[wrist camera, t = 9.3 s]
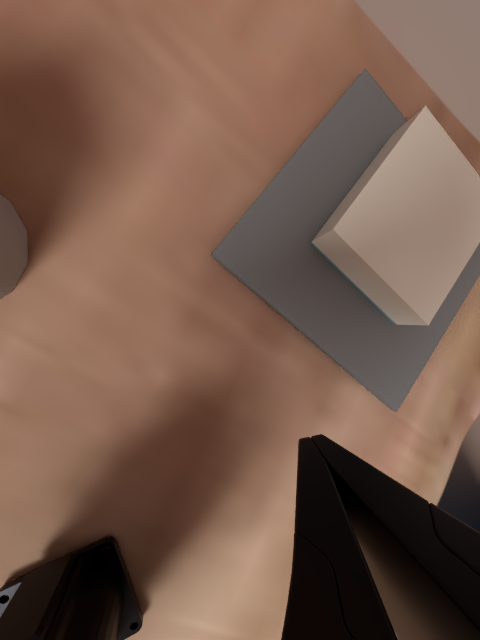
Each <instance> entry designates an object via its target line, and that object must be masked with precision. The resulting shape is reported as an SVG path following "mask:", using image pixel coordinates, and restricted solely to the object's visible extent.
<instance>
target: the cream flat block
mask: <svg viewBox="0 0 480 640" xmlns="http://www.w3.org/2000/svg"><path fill="white" fill-rule="evenodd" d="M479 243H480V176H479V174H478V173H477V172H476V171H475V169H474V168H473V167H472V165H471V164H470V163H469V161H468V160H467V159H466V158H465V156H464V155H463V154H462V152H461V151H460V150H459V149H458V147H457V146H456V145H455V143H454V142H453V141H452V139H451V138H450V137H449V136H448V134H447V133H446V132H445V130H444V129H443V128H442V126H441V125H440V124H439V123H438V121H437V120H436V119H435V117H434V116H433V115H432V113H431V112H430V111H429V110H428V108H427V107H426V106H424V107H423V108H422V109H421V110H420V111H418V112H417V113H416V114H415V115H414V116H413V117H412V118H410V119H409V120H408V121H407V122H406V123H405V124H403V125H402V126H401V127H400V128H399V129H398V130H397V131H395V132H394V133H393V135H392V136H391V137H390V139H389V140H388V141H387V142H386V144H385V145H384V146H383V148H382V149H381V150H380V152H379V153H378V154H377V156H376V157H375V158H374V160H373V161H372V162H371V164H370V165H369V166H368V168H367V169H366V170H365V172H364V173H363V174H362V176H361V177H360V178H359V180H358V181H357V182H356V183H355V185H354V186H353V187H352V189H351V190H350V191H349V193H348V194H347V195H346V197H345V198H344V199H343V201H342V202H341V203H340V205H339V206H338V207H337V209H336V210H335V211H334V213H333V214H332V215H331V217H330V218H329V219H328V221H327V222H326V223H325V224H324V226H323V227H322V228H321V230H320V231H319V232H318V234H317V235H316V236H315V238H314V239H313V240H312V242H311V243H310V244H311V245H312V246H313V247H314V248H315V249H317V250H318V251H319V252H320V253H321V254H322V255H323V256H324V257H325V258H326V259H327V260H328V261H329V262H330V263H331V264H332V265H333V266H334V267H335V268H336V269H337V270H338V271H339V272H340V273H341V274H342V275H343V276H344V277H346V278H347V279H348V280H349V281H350V282H351V283H352V284H353V285H354V286H355V287H356V288H357V289H358V290H359V291H360V292H361V293H362V294H363V295H364V296H365V297H366V298H367V299H368V300H369V301H370V302H371V303H372V304H373V305H375V306H376V307H377V308H378V309H379V310H380V311H381V312H382V313H383V314H384V315H385V316H386V317H387V318H388V319H389V320H390V321H391V322H392V323H396V324H397V325H429V324H430V322H431V320H432V319H433V317H434V316H435V314H436V312H437V311H438V309H439V308H440V306H441V304H442V303H443V301H444V300H445V298H446V296H447V295H448V293H449V291H450V290H451V288H452V287H453V285H454V283H455V282H456V280H457V279H458V277H459V275H460V274H461V272H462V270H463V269H464V267H465V266H466V264H467V262H468V261H469V259H470V258H471V256H472V254H473V253H474V251H475V249H476V248H477V246H478V245H479Z"/></svg>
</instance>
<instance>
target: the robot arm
mask: <svg viewBox="0 0 480 640" xmlns="http://www.w3.org/2000/svg"><path fill="white" fill-rule="evenodd" d="M105 546H109V547H110V548H105ZM5 595H8V596H5ZM142 622H143V613H142V610H141V608H140V605H139V602H138V599H137V597H136V594H135V591H134V588H133V585H132V583H131V580H130V577H129V574H128V572H127V569H126V566H125V563H124V560H123V558H122V555H121V552H120V549H119V547H118V544H117V541H116V539H115V538H114V537H111V536H108V537H105V538H103V539H101V540H99V541H96V542H94V543H92V544H90V545H88V546H86V547H84V548H82V549H79V550H77V551H75V552H73V553H69V554H67V555H65V556H63V557H61V558H59V559H57V560H55V561H52V562H50V563H48V564H46V565H44V566H42V567H40V568H37V569H35V570H33V571H31V572H29V573H27V574H26V575H24V576H22V577H20V578H18V579H16V580H13V581H11V582H9V583H7V584H5V585H4V586H2V587H1V589H0V640H124V639H126V638H128V637H130V636H131V635H133V634H135V633H137V632H138V631H139V630H140V629H141V627H142ZM392 626H393V627H392ZM393 628H394V629H393ZM394 630H395V632H396V634H397V636H398V638H399V640H480V533H479V532H478V531H476V530H474V529H473V528H471V527H469V526H468V525H466V524H465V523H463V522H461V521H460V520H458V519H456V518H455V517H453V516H451V515H450V514H448V513H446V512H445V511H443V510H442V509H440V508H439V507H437V506H435V505H434V504H432V503H430V504H429V503H428V501H427V500H425V499H424V498H422V497H420V496H419V495H417V494H416V493H414V492H413V491H411V490H409V489H408V488H406V487H405V486H403V485H402V484H400V483H398V482H397V481H395V480H394V479H392V478H390V477H389V476H387V475H386V474H384V473H383V472H381V471H379V470H378V469H376V468H375V467H373V466H372V465H370V464H368V463H367V462H365V461H364V460H362V459H360V458H359V457H357V456H356V455H354V454H353V453H351V452H349V451H348V450H346V449H345V448H343V447H342V446H340V445H338V444H337V443H335V442H334V441H332V440H330V439H329V438H327V437H326V436H324V435H322V434H320V435H315V436H312V437H311V438H310V437H306V438H301V439H299V445H298V467H297V489H296V511H295V533H294V549H293V561H292V574H291V581H290V588H289V595H288V602H287V609H286V614H285V620H284V626H283V632H282V638H281V640H398V639H397V637H396V634H395V632H394Z"/></svg>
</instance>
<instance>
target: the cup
mask: <svg viewBox="0 0 480 640" xmlns="http://www.w3.org/2000/svg"><path fill="white" fill-rule="evenodd" d="M27 264H28V234H27V230H26V228H25V226H24V225H23V223H22V221H21V219H20V218H19V216H18V214H17V212H16V211H15V209H14V207H13V205H12V204H11V202H10V201H9V200H8V199H6V198H5V197H4V196H2V195H1V194H0V299H1V298H3V297H4V296H6V295H7V294H9V293H10V292H12V291H13V289H14V287H15V286H16V284H17V282H18V280H19V279H20V277H21V275H22V273H23V271H24V270H25V268H26V266H27Z"/></svg>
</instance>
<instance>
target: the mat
mask: <svg viewBox="0 0 480 640" xmlns="http://www.w3.org/2000/svg"><path fill="white" fill-rule="evenodd" d="M406 122H407V120H406V119H405V117H404V116H403V115H402V114H401V112H400V111H399V110H398V109H397V107H396V106H395V105H394V104H393V102H392V101H391V100H390V99H389V97H388V96H387V95H386V94H385V92H384V91H383V90H382V89H381V87H380V86H379V85H378V84H377V82H376V81H375V80H374V79H373V77H372V76H371V75H370V74H369V72H368V71H367V70H366V69H364V71H363V72H362V73H361V74H360V75H359V77H358V78H357V79H356V80H355V81H354V83H353V84H352V85H351V86H350V87H349V89H348V90H347V91H346V92H345V94H344V95H343V96H342V97H341V98H340V100H339V101H338V102H337V103H336V104H335V106H334V107H333V108H332V109H331V110H330V112H329V113H328V114H327V115H326V116H325V118H324V119H323V120H322V121H321V122H320V124H319V125H318V126H317V127H316V129H315V130H314V131H313V132H312V133H311V135H310V136H309V137H308V138H307V139H306V141H305V142H304V143H303V144H302V145H301V147H300V148H299V149H298V150H297V151H296V153H295V154H294V155H293V156H292V157H291V159H290V160H289V161H288V162H287V164H286V165H285V166H284V167H283V168H282V170H281V171H280V172H279V173H278V174H277V176H276V177H275V178H274V179H273V180H272V182H271V183H270V184H269V185H268V186H267V188H266V189H265V190H264V191H263V192H262V194H261V195H260V196H259V197H258V199H257V200H256V201H255V202H254V203H253V205H252V206H251V207H250V208H249V209H248V211H247V212H246V213H245V214H244V215H243V217H242V218H241V219H240V220H239V221H238V223H237V224H236V225H235V226H234V227H233V229H232V230H231V231H230V232H229V234H228V235H227V236H226V237H225V238H224V240H223V241H222V242H221V243H220V244H219V246H218V247H217V248H216V249H215V250H214V252H213V253H212V254H211V256H212V257H213V258H214V259H215V260H217V261H218V262H219V263H220V264H221V265H222V266H224V267H225V268H226V269H227V270H228V271H229V272H231V273H232V274H233V275H234V276H235V277H236V278H238V279H239V280H240V281H241V282H242V283H243V284H245V285H246V286H247V287H248V288H249V289H250V290H252V291H253V292H254V293H255V294H256V295H258V296H259V297H260V298H261V299H262V300H263V301H265V302H266V303H267V304H268V305H269V306H270V307H272V308H273V309H274V310H275V311H276V312H277V313H279V314H280V315H281V316H282V317H283V318H284V319H286V320H287V321H288V322H289V323H290V324H291V325H293V326H294V327H295V328H296V329H297V330H299V331H300V332H301V333H302V334H303V335H304V336H306V337H307V338H308V339H309V340H310V341H311V342H313V343H314V344H315V345H316V346H317V347H318V348H320V349H321V350H322V351H323V352H324V353H325V354H327V355H328V356H329V357H330V358H331V359H332V360H334V361H335V362H336V363H337V364H338V365H339V366H341V367H342V368H343V369H344V370H345V371H347V372H348V373H349V374H350V375H351V376H352V377H354V378H355V379H356V380H357V381H358V382H359V383H361V384H362V385H363V386H364V387H365V388H366V389H368V390H369V391H370V392H371V393H372V394H373V395H375V396H376V397H377V398H378V399H379V400H380V401H382V402H383V403H384V404H385V405H386V406H387V407H389V408H390V409H391V410H393V411H395V412H397V411H398V409H399V408H400V406H401V404H402V403H403V401H404V399H405V398H406V396H407V394H408V393H409V391H410V389H411V388H412V386H413V384H414V383H415V381H416V379H417V378H418V376H419V374H420V373H421V371H422V369H423V368H424V366H425V365H426V363H427V361H428V360H429V358H430V356H431V355H432V353H433V351H434V350H435V348H436V346H437V345H438V343H439V341H440V340H441V338H442V336H443V335H444V333H445V331H446V330H447V328H448V326H449V325H450V323H451V321H452V320H453V318H454V317H455V315H456V313H457V312H458V310H459V308H460V307H461V305H462V303H463V302H464V300H465V298H466V297H467V295H468V293H469V292H470V290H471V288H472V287H473V285H474V283H475V282H476V280H477V278H478V277H479V275H480V243H479V245H478V246H477V248H476V249H475V251H474V253H473V254H472V256H471V258H470V259H469V261H468V262H467V264H466V266H465V267H464V269H463V270H462V272H461V274H460V275H459V277H458V279H457V280H456V282H455V283H454V285H453V287H452V288H451V290H450V291H449V293H448V295H447V296H446V298H445V300H444V301H443V303H442V304H441V306H440V308H439V309H438V311H437V312H436V314H435V316H434V317H433V319H432V320H431V322H430V324H429V325H397V324H396V323H392V322H391V321H390V320H389V319H388V318H387V317H386V316H385V315H384V314H383V313H382V312H381V311H380V310H379V309H378V308H377V307H376V306H375V305H373V304H372V303H371V302H370V301H369V300H368V299H367V298H366V297H365V296H364V295H363V294H362V293H361V292H360V291H359V290H358V289H357V288H356V287H355V286H354V285H353V284H352V283H351V282H350V281H349V280H348V279H347V278H346V277H344V276H343V275H342V274H341V273H340V272H339V271H338V270H337V269H336V268H335V267H334V266H333V265H332V264H331V263H330V262H329V261H328V260H327V259H326V258H325V257H324V256H323V255H322V254H321V253H320V252H319V251H318V250H317V249H315V248H314V247H313V246H312V245H311V244H310V243H311V242H312V240H313V239H314V238H315V236H316V235H317V234H318V232H319V231H320V230H321V228H322V227H323V226H324V224H325V223H326V222H327V221H328V219H329V218H330V217H331V215H332V214H333V213H334V211H335V210H336V209H337V207H338V206H339V205H340V203H341V202H342V201H343V199H344V198H345V197H346V195H347V194H348V193H349V191H350V190H351V189H352V187H353V186H354V185H355V183H356V182H357V181H358V180H359V178H360V177H361V176H362V174H363V173H364V172H365V170H366V169H367V168H368V166H369V165H370V164H371V162H372V161H373V160H374V158H375V157H376V156H377V154H378V153H379V152H380V150H381V149H382V148H383V146H384V145H385V144H386V142H387V141H388V140H389V139H390V137H391V136H392V135H393V133H394V132H395V131H397V130H398V129H399V128H400V127H401V126H402V125H403V124H405V123H406Z"/></svg>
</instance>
